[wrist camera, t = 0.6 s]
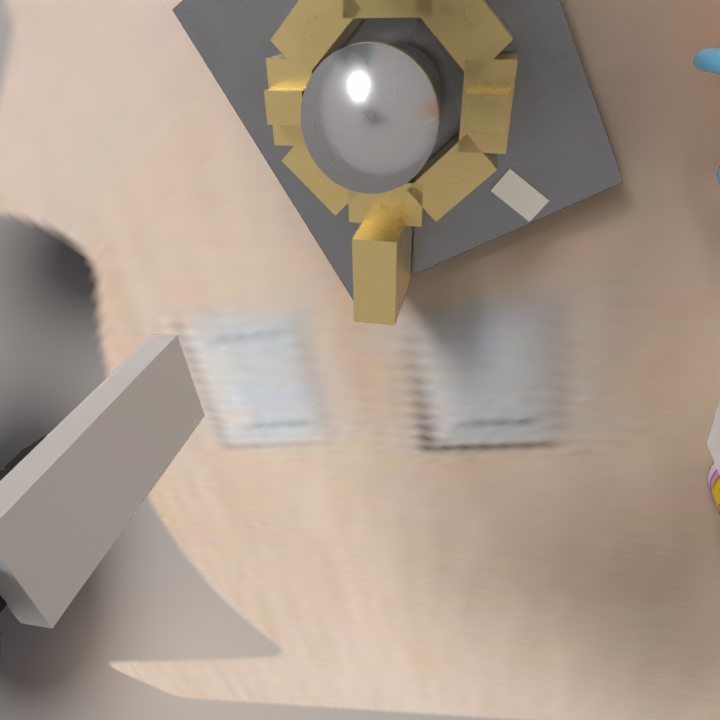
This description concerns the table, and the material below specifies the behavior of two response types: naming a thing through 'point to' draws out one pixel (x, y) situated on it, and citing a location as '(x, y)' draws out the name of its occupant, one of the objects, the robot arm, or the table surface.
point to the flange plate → (532, 135)
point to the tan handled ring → (439, 175)
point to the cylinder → (709, 66)
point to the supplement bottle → (715, 485)
